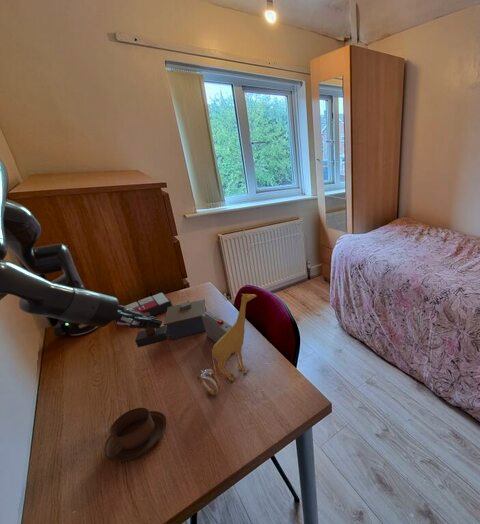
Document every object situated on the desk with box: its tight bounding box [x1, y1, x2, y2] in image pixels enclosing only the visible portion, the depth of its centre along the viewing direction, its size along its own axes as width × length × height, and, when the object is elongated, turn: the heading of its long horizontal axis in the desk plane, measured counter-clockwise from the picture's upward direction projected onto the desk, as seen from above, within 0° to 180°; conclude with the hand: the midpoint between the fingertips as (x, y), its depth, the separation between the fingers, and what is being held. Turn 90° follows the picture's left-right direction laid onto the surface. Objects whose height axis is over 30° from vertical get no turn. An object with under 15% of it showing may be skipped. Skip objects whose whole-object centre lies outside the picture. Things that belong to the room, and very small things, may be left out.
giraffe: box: [211, 293, 257, 382], centre depth 82 cm, size 16×4×25 cm, turn 141°
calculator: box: [123, 292, 173, 317], centre depth 116 cm, size 11×4×15 cm
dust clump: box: [179, 300, 191, 310], centre depth 107 cm, size 3×3×1 cm
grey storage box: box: [163, 299, 208, 340], centre depth 106 cm, size 13×12×7 cm
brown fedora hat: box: [103, 407, 167, 463], centre depth 66 cm, size 12×12×6 cm
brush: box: [135, 312, 169, 348], centre depth 79 cm, size 4×7×8 cm, turn 115°
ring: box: [196, 368, 221, 396], centre depth 78 cm, size 7×3×8 cm, turn 60°
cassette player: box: [201, 310, 235, 355], centre depth 97 cm, size 16×3×10 cm, turn 53°
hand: (157, 322), depth 80 cm, fingers closed on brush, 2 cm apart
